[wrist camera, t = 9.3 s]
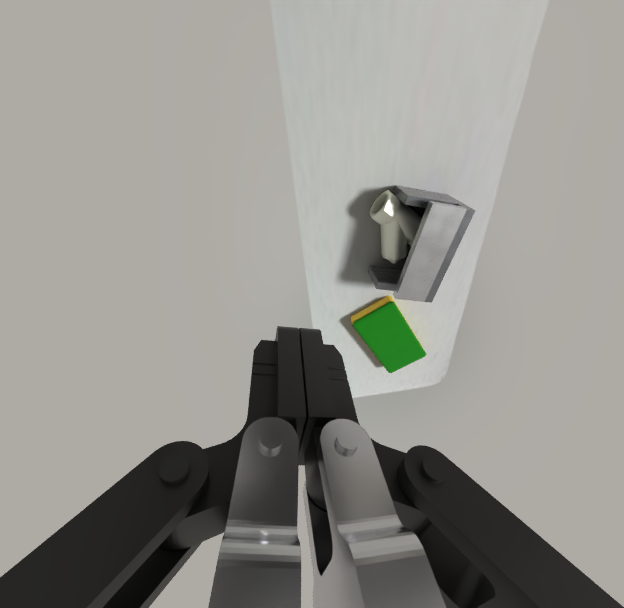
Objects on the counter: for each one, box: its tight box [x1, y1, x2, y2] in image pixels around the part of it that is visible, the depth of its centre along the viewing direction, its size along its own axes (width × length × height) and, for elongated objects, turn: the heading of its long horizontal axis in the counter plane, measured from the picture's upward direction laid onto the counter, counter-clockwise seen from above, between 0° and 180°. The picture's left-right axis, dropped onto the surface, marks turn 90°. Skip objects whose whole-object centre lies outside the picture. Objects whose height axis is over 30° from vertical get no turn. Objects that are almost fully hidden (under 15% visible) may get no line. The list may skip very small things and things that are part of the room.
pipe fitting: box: [369, 190, 422, 263], centre depth 38 cm, size 8×4×7 cm
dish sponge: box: [351, 296, 426, 373], centre depth 49 cm, size 7×14×2 cm, turn 34°
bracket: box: [368, 186, 475, 302], centre depth 38 cm, size 12×7×6 cm, turn 170°
